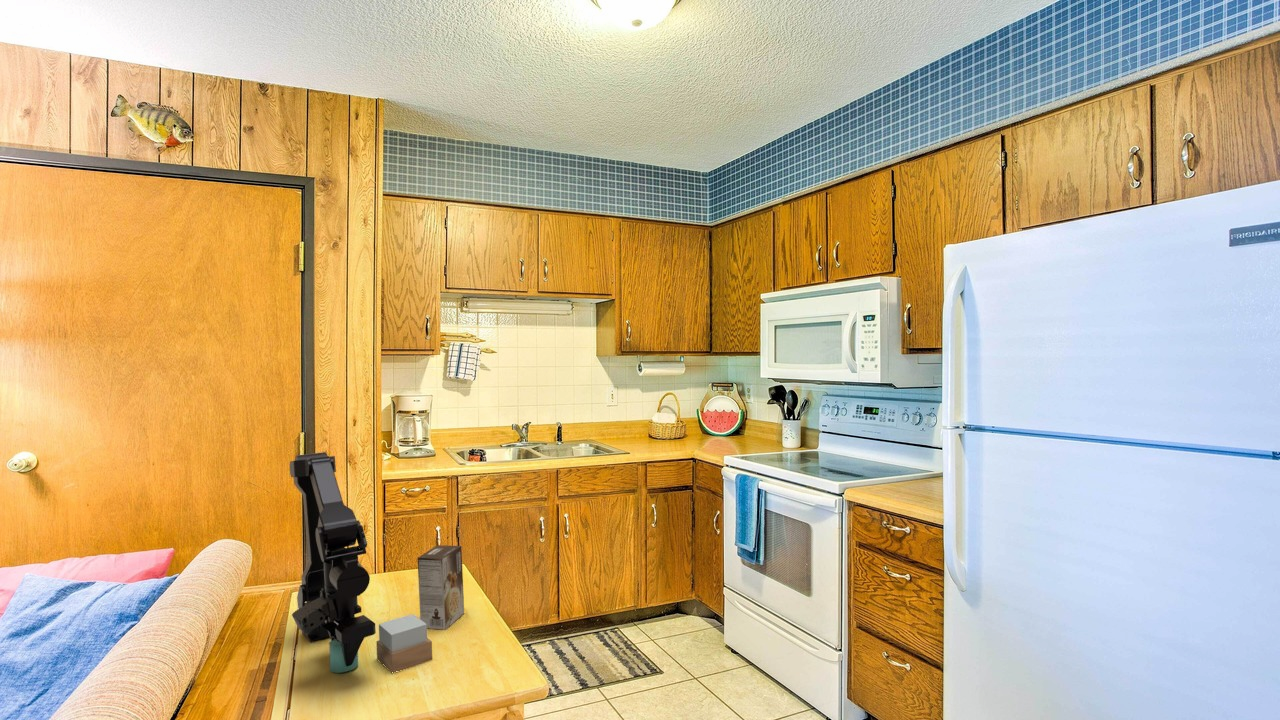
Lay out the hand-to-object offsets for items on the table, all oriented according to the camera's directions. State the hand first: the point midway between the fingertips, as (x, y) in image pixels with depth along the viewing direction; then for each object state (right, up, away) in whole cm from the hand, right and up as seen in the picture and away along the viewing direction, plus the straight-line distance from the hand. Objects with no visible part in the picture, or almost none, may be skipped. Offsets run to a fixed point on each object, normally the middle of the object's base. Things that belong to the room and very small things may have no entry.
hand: (344, 660), depth 132 cm
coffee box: (+13, -1, +21) cm, 25 cm away
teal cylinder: (0, -1, 0) cm, 1 cm away
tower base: (+11, -1, +3) cm, 11 cm away
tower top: (+10, +3, +3) cm, 11 cm away
